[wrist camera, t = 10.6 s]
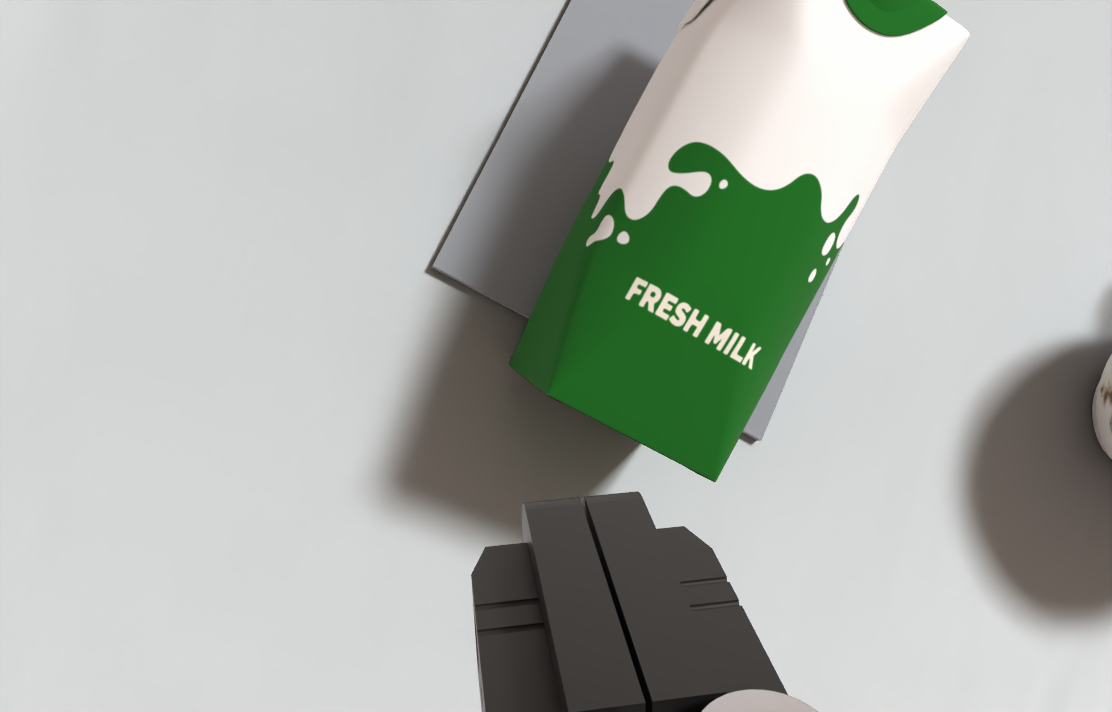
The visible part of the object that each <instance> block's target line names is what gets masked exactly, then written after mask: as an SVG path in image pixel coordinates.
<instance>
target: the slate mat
mask: <svg viewBox="0 0 1112 712" xmlns="http://www.w3.org/2000/svg"><path fill="white" fill-rule="evenodd" d="M694 1H695V0H571V1H570V3H569V5H568V7H567V9H566V11H565V13H564V15H563V17H562V19H561V21H560V22H559V24H558V26H557V28H556V30H555V32H554V34H553V36H552V38H551V40H550V42H549V44H548V45H547V47H546V49H545V51H544V53H543V55H542V57H541V59H540V61H539V63H538V65H537V66H536V68H535V70H534V72H533V74H532V76H531V78H530V80H529V82H528V84H527V86H526V88H525V89H524V91H523V93H522V95H521V97H520V99H519V101H518V103H517V105H516V107H515V109H514V111H513V112H512V114H511V116H510V118H509V120H508V122H507V124H506V126H505V128H504V130H503V132H502V133H501V135H500V137H499V139H498V141H497V143H496V145H495V147H494V149H493V151H492V153H491V155H490V156H489V158H488V160H487V162H486V164H485V166H484V168H483V170H482V172H481V174H480V176H479V178H478V179H477V181H476V183H475V185H474V187H473V189H472V191H471V193H470V195H469V197H468V199H467V200H466V202H465V204H464V206H463V208H462V210H461V212H460V214H459V216H458V218H457V220H456V222H455V223H454V225H453V227H452V229H451V231H450V233H449V235H448V237H447V239H446V241H445V243H444V245H443V246H442V248H441V250H440V252H439V254H438V256H437V258H436V260H435V262H434V264H433V266H432V267H431V268H433V269H435V270H437V271H439V272H441V273H443V274H444V275H446V276H448V277H450V278H452V279H454V280H456V281H458V282H459V283H461V284H463V285H465V286H467V287H469V288H471V289H473V290H475V291H476V292H478V293H480V294H482V295H484V296H486V297H488V298H490V299H491V300H493V301H495V302H497V303H499V304H501V305H503V306H505V307H507V308H508V309H510V310H512V311H514V312H516V313H518V314H520V315H522V316H524V317H525V318H527V319H529V318H530V316H531V313H532V311H533V309H534V307H535V304H536V302H537V300H538V298H539V296H540V293H541V291H542V289H543V287H544V284H545V282H546V280H547V278H548V276H549V273H550V271H551V269H552V267H553V264H554V262H555V260H556V258H557V256H558V254H559V251H560V249H561V247H562V245H563V243H564V241H565V239H566V237H567V235H568V233H569V231H570V229H571V227H572V225H573V223H574V221H575V219H576V217H577V216H578V214H579V212H580V210H581V208H582V206H583V204H584V203H585V201H586V199H587V197H588V195H589V193H590V191H591V189H592V188H593V186H594V184H595V182H596V180H597V178H598V176H599V175H600V173H601V171H602V169H603V167H604V165H605V163H606V161H607V160H608V158H609V156H610V154H611V152H612V150H613V148H614V147H615V145H616V143H617V141H618V139H619V137H620V135H621V133H622V132H623V130H624V128H625V126H626V124H627V122H628V120H629V119H630V117H631V115H632V113H633V111H634V109H635V107H636V106H637V104H638V102H639V100H640V98H641V96H642V94H643V92H644V91H645V89H646V87H647V85H648V83H649V81H650V79H651V78H652V76H653V74H654V72H655V70H656V69H657V67H658V65H659V63H660V62H661V60H662V58H663V56H664V54H665V53H666V51H667V49H668V48H669V46H670V44H671V42H672V41H673V39H674V37H675V36H676V34H677V32H678V31H679V29H680V27H679V24H680V23H681V21H682V19H683V18H684V16H685V14H686V13H687V11H688V10H689V8H690V7H691V5H692V4H693V2H694ZM843 244H844V243H843ZM842 246H843V245H842ZM841 249H842V247H841ZM841 249H840V251H841ZM840 251H839V252H838V254H837V256H836V258H835V260H834V262H833V264H832V265H831V267H830V269H829V271H828V273H827V275H826V277H825V278H824V280H823V282H822V284H821V286H820V288H819V289H818V291H817V293H816V295H815V297H814V299H813V301H812V302H811V304H810V306H809V308H808V310H807V312H806V314H805V315H804V317H803V319H802V321H801V323H800V325H799V327H798V328H797V330H796V332H795V334H794V336H793V338H792V339H791V341H790V343H789V345H788V347H787V349H786V351H785V352H784V354H783V356H782V358H781V360H780V362H779V364H778V366H777V368H776V370H775V372H774V374H773V376H772V378H771V380H770V381H769V383H768V385H767V387H766V389H765V391H764V393H763V395H762V397H761V398H760V400H759V402H758V404H757V406H756V408H755V410H754V411H753V413H752V415H751V417H750V419H749V421H748V423H747V424H746V426H745V428H744V430H743V432H742V433H744V434H746V435H748V436H749V437H751V438H753V439H755V440H757V441H758V440H762V438H763V435H764V433H765V430H766V428H767V426H768V423H769V421H770V418H771V416H772V414H773V411H774V409H775V407H776V404H777V402H778V399H779V397H780V395H781V392H782V390H783V387H784V385H785V383H786V380H787V378H788V375H789V373H790V371H791V368H792V366H793V363H794V361H795V359H796V356H797V354H798V351H799V349H800V347H801V344H802V342H803V339H804V337H805V335H806V332H807V330H808V328H809V325H810V323H811V320H812V318H813V316H814V313H815V311H816V308H817V306H818V304H819V301H820V299H821V296H822V294H823V292H824V289H825V287H826V284H827V282H828V280H829V277H830V275H831V272H832V270H833V268H834V265H835V263H836V261H837V258H838V256H839V253H840Z"/></svg>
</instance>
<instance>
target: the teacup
mask: <svg viewBox="0 0 1112 712" xmlns="http://www.w3.org/2000/svg"><path fill="white" fill-rule="evenodd" d="M1092 418H1093V425H1094V430H1095V433H1096V436H1097V439H1098V442H1099V443H1100V445H1101V447H1102V449H1103V450H1104V451H1105V453H1106V454H1107V455H1108V456H1109V457H1110V458H1111V460H1112V354H1111V356H1110V357H1109V359H1108V361H1107V363H1106V366H1105V368H1104V370H1103V373H1102V376H1101V379H1100V381H1099V383H1098V385H1097V387H1096V390H1095V394H1094V398H1093V404H1092Z"/></svg>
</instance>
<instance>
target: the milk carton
mask: <svg viewBox="0 0 1112 712" xmlns="http://www.w3.org/2000/svg"><path fill="white" fill-rule="evenodd" d="M946 13H947V11H946V10H945V9H943V8H942V7H941V6H939V5H938V4H937V3H935V2H934V1H932V0H695V1H694V2H693V4H692V5H691V7H690V8H689V10H688V11H687V13H686V14H685V16H684V18H683V19H682V21H681V23H680V24H679V27H680V29H679V31H678V32H677V34H676V36H675V37H674V39H673V41H672V42H671V44H670V46H669V48H668V49H667V51H666V53H665V54H664V56H663V58H662V60H661V62H660V63H659V65H658V67H657V69H656V70H655V72H654V74H653V76H652V78H651V79H650V81H649V83H648V85H647V87H646V89H645V91H644V92H643V94H642V96H641V98H640V100H639V102H638V104H637V106H636V107H635V109H634V111H633V113H632V115H631V117H630V119H629V120H628V122H627V124H626V126H625V128H624V130H623V132H622V133H621V135H620V137H619V139H618V141H617V143H616V145H615V147H614V148H613V150H612V152H611V154H610V156H609V158H608V160H607V161H606V163H605V165H604V167H603V169H602V171H601V173H600V175H599V176H598V178H597V180H596V182H595V184H594V186H593V188H592V189H591V191H590V193H589V195H588V197H587V199H586V201H585V203H584V204H583V206H582V208H581V210H580V212H579V214H578V216H577V217H576V219H575V221H574V223H573V225H572V227H571V229H570V231H569V233H568V235H567V237H566V239H565V241H564V243H563V245H562V247H561V249H560V251H559V254H558V256H557V258H556V260H555V262H554V264H553V267H552V269H551V271H550V273H549V276H548V278H547V280H546V282H545V284H544V287H543V289H542V291H541V293H540V296H539V298H538V300H537V302H536V304H535V307H534V309H533V311H532V313H531V316H530V318H529V320H528V322H527V324H526V327H525V329H524V331H523V333H522V336H521V338H520V340H519V342H518V345H517V347H516V349H515V351H514V353H513V355H512V358H511V360H510V362H509V366H511V367H512V368H513V369H514V370H516V371H517V372H518V373H519V374H521V375H522V376H523V377H525V378H526V379H527V380H528V381H530V382H531V383H532V384H533V385H535V386H536V387H537V388H539V389H540V390H541V391H542V392H544V393H545V394H546V395H548V396H549V397H551V398H553V399H555V400H557V401H559V402H561V403H564V404H566V405H568V406H570V407H572V408H574V409H576V410H577V411H579V412H581V413H583V414H585V415H587V416H589V417H591V418H593V419H595V420H597V421H599V422H601V423H602V424H604V425H606V426H608V427H610V428H612V429H614V430H616V431H618V432H620V433H622V434H624V435H626V436H627V437H629V438H631V439H633V440H635V441H637V442H639V443H641V444H643V445H645V446H647V447H649V448H651V449H652V450H654V451H656V452H658V453H660V454H662V455H664V456H666V457H668V458H670V459H672V460H674V461H676V462H678V463H679V464H681V465H683V466H685V467H687V468H688V469H690V470H692V471H694V472H695V473H697V474H699V475H701V476H703V477H705V478H707V479H709V480H711V481H713V482H716V480H717V478H718V476H719V475H720V473H721V471H722V469H723V467H724V465H725V463H726V462H727V460H728V458H729V456H730V454H731V452H732V450H733V449H734V447H735V445H736V443H737V441H738V439H739V437H740V436H741V434H742V432H743V430H744V428H745V426H746V424H747V423H748V421H749V419H750V417H751V415H752V413H753V411H754V410H755V408H756V406H757V404H758V402H759V400H760V398H761V397H762V395H763V393H764V391H765V389H766V387H767V385H768V383H769V381H770V380H771V378H772V376H773V374H774V372H775V370H776V368H777V366H778V364H779V362H780V360H781V358H782V356H783V354H784V352H785V351H786V349H787V347H788V345H789V343H790V341H791V339H792V338H793V336H794V334H795V332H796V330H797V328H798V327H799V325H800V323H801V321H802V319H803V317H804V315H805V314H806V312H807V310H808V308H809V306H810V304H811V302H812V301H813V299H814V297H815V295H816V293H817V291H818V289H819V288H820V286H821V284H822V282H823V280H824V278H825V277H826V275H827V273H828V271H829V269H830V267H831V265H832V264H833V262H834V260H835V258H836V256H837V254H838V252H839V251H840V249H841V247H842V245H843V243H844V241H845V239H846V238H847V236H848V234H849V232H850V230H851V228H852V227H853V225H854V223H855V221H856V219H857V217H858V215H859V214H860V212H861V210H862V208H863V206H864V204H865V202H866V201H867V199H868V197H869V195H870V193H871V191H872V190H873V188H874V186H875V184H876V182H877V180H878V178H879V176H880V175H881V173H882V171H883V169H884V167H885V165H886V163H887V162H888V160H889V158H890V156H891V154H892V153H893V151H894V149H895V147H896V146H897V144H898V142H899V141H900V139H901V138H902V136H903V135H904V133H905V131H906V130H907V128H908V127H909V125H910V124H911V122H912V121H913V119H914V118H915V116H916V115H917V113H918V112H919V111H920V109H921V108H922V106H923V105H924V103H925V102H926V100H927V99H928V97H929V96H930V94H931V93H932V91H933V90H934V88H935V87H936V85H937V84H938V82H939V81H940V79H941V78H942V76H943V75H944V74H945V72H946V71H947V69H948V68H949V66H950V65H951V63H952V62H953V60H954V59H955V57H956V56H957V54H958V53H959V51H960V50H961V48H962V47H963V45H964V44H965V42H966V41H967V39H968V38H969V35H970V33H969V32H968V31H967V30H966V29H965V28H964V27H962V26H961V25H960V24H958V23H957V22H955V21H954V20H952V19H951V18H949V17H948V16H946Z"/></svg>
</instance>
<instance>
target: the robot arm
mask: <svg viewBox="0 0 1112 712" xmlns="http://www.w3.org/2000/svg"><path fill="white" fill-rule="evenodd" d="M522 536H523V543H519V544H509V545H500V546H490V547H485V549H484V551H483V553H482V555H481V557H480V559H479V561H478V563H477V565H476V566H475V568H474V570H473V572H472V574H471V577H472V592H473V607H474V621H475V636H476V651H477V665H478V677H479V687H480V697H481V707H482V712H818V711H816V710H815V709H814V708H812V707H811V706H809V705H808V704H806V703H804V702H802V701H800V700H798V699H796V698H794V697H791V696H789V695H788V694H787V692H786V690H785V688H784V686H783V684H782V682H781V681H780V679H779V677H778V675H777V673H776V671H775V669H774V667H773V665H772V663H771V661H770V659H769V657H768V655H767V654H766V652H765V650H764V648H763V646H762V644H761V642H760V640H759V638H758V636H757V634H756V632H755V630H754V628H753V627H752V625H751V623H750V621H749V619H748V617H747V615H746V613H745V611H744V609H743V607H742V606H739V600H738V598H737V596H736V594H735V592H734V590H733V588H732V586H731V584H730V582H727V576H726V574H725V573H724V571H723V569H722V567H721V565H720V563H719V561H718V559H717V557H716V555H715V553H714V551H713V549H712V548H711V547H709V546H708V545H707V544H706V543H704V542H703V541H702V540H701V539H699V538H698V537H697V536H695V535H694V534H693V533H692V532H690V531H689V530H688V529H687V528H685V527H684V526H681V527H672V528H662V529H656V528H655V525H654V523H653V521H652V518H651V516H650V514H649V512H648V509H647V507H646V505H645V502H644V500H643V498H642V496H641V494H640V493H639V492H628V493H618V494H608V495H598V496H587V497H582V499H581V500H580V499H579V498H569V499H559V500H549V501H538V502H528V503H523V504H522Z"/></svg>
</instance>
